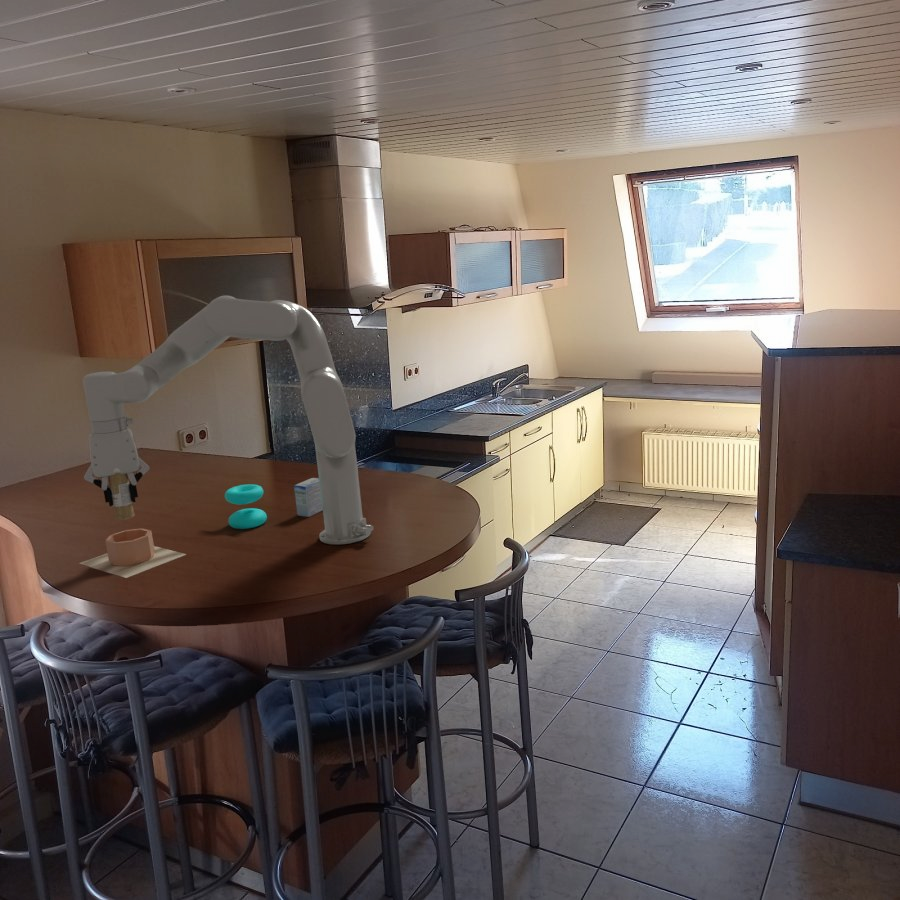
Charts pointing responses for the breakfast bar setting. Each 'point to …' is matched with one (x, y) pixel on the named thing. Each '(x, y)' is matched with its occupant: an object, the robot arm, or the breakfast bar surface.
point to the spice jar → (121, 496)
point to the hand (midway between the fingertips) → (122, 502)
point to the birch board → (127, 571)
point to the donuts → (245, 516)
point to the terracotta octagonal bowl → (130, 547)
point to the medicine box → (308, 497)
